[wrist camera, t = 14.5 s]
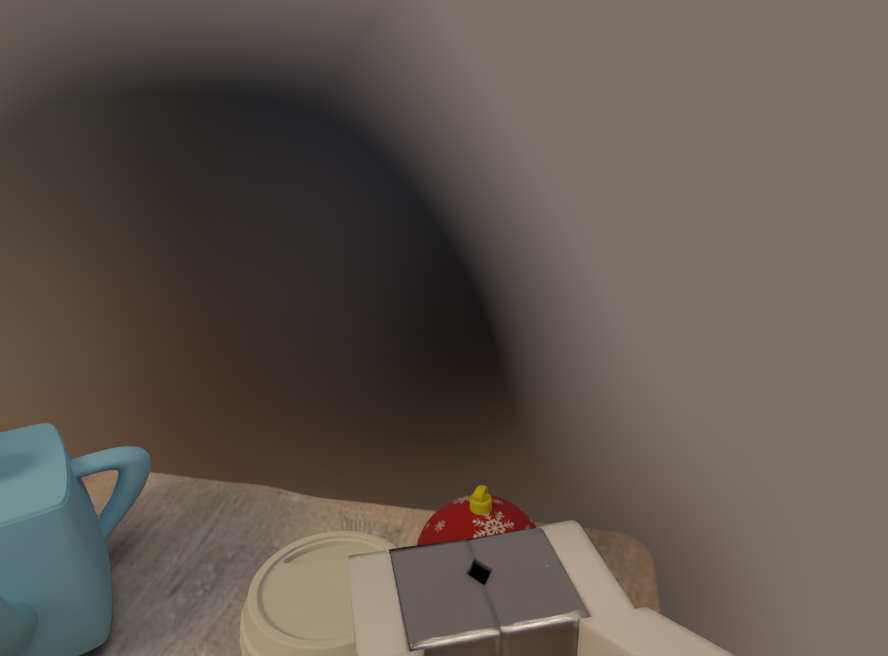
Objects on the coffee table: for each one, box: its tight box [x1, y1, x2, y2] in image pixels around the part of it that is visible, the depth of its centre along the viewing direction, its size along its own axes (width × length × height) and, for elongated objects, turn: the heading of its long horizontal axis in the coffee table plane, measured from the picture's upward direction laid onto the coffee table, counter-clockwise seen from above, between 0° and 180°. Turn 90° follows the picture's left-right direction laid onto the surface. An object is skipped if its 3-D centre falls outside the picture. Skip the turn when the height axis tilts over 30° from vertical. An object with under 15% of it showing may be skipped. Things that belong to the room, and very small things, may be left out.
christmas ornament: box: [417, 485, 537, 545], centre depth 41 cm, size 9×9×10 cm
